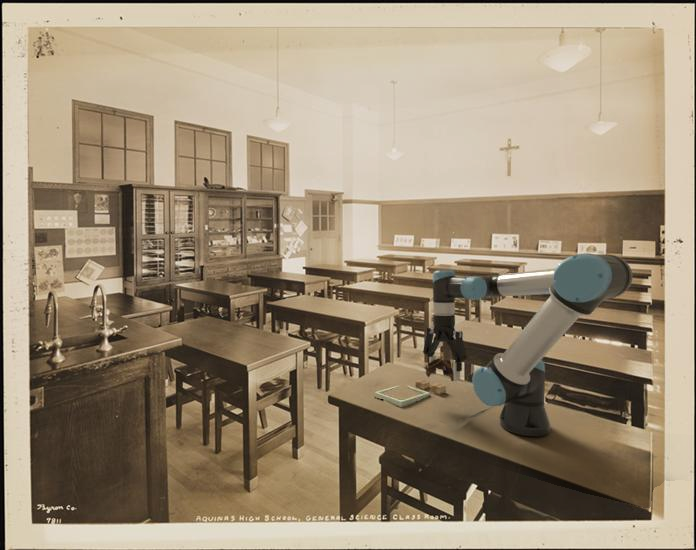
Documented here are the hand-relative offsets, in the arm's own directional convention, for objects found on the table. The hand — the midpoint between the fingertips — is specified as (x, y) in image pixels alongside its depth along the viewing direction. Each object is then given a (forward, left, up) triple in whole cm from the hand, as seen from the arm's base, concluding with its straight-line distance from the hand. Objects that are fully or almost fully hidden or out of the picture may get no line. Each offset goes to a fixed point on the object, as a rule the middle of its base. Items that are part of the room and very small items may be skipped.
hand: (444, 377), depth 144 cm
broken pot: (-1, -1, -2) cm, 2 cm away
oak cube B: (+17, -9, -11) cm, 23 cm away
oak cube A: (+10, -10, -11) cm, 18 cm away
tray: (+17, +3, -11) cm, 21 cm away
